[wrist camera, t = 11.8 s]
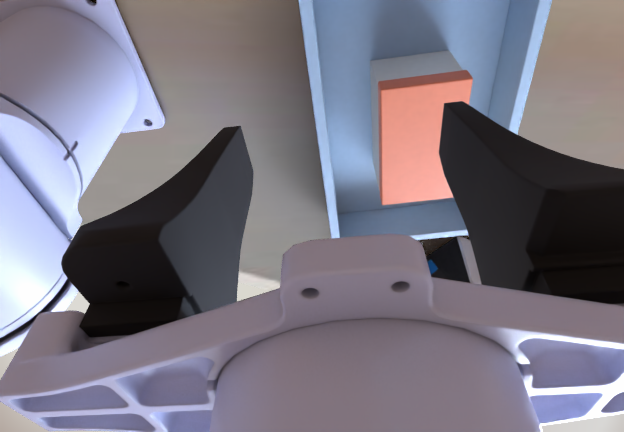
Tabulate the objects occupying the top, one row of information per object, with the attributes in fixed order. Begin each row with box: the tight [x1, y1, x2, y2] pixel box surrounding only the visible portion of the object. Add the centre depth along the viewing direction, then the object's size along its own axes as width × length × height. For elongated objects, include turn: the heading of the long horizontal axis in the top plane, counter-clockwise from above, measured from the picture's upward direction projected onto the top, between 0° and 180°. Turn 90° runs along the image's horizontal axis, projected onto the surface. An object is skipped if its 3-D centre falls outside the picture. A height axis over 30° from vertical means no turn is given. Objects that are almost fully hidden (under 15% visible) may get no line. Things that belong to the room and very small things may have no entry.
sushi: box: [370, 50, 473, 205], centre depth 23 cm, size 4×8×4 cm, turn 7°
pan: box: [298, 0, 552, 240], centre depth 24 cm, size 11×17×4 cm, turn 7°
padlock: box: [426, 236, 482, 285], centre depth 30 cm, size 7×4×15 cm, turn 149°
